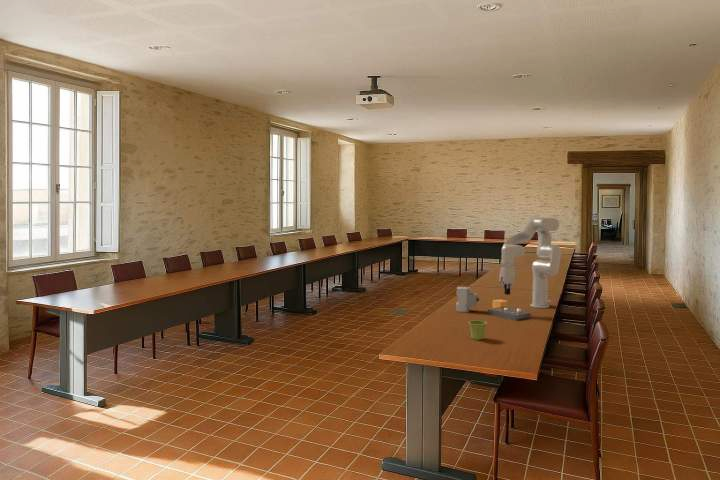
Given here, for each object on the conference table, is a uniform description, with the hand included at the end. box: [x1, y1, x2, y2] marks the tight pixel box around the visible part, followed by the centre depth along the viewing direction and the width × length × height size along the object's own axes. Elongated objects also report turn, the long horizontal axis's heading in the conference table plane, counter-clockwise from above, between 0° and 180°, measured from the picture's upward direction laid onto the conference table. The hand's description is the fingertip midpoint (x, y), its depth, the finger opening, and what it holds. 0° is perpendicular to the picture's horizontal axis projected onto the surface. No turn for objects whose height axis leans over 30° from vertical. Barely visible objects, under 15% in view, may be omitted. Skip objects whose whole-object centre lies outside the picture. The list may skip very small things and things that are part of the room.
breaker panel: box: [487, 307, 532, 321], centre depth 341 cm, size 14×22×3 cm, turn 34°
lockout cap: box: [491, 298, 509, 308], centre depth 361 cm, size 7×7×6 cm
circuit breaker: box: [455, 286, 480, 313], centre depth 354 cm, size 8×14×15 cm, turn 78°
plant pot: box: [468, 320, 488, 341], centre depth 286 cm, size 9×9×9 cm
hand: (507, 294), depth 345 cm, fingers closed
